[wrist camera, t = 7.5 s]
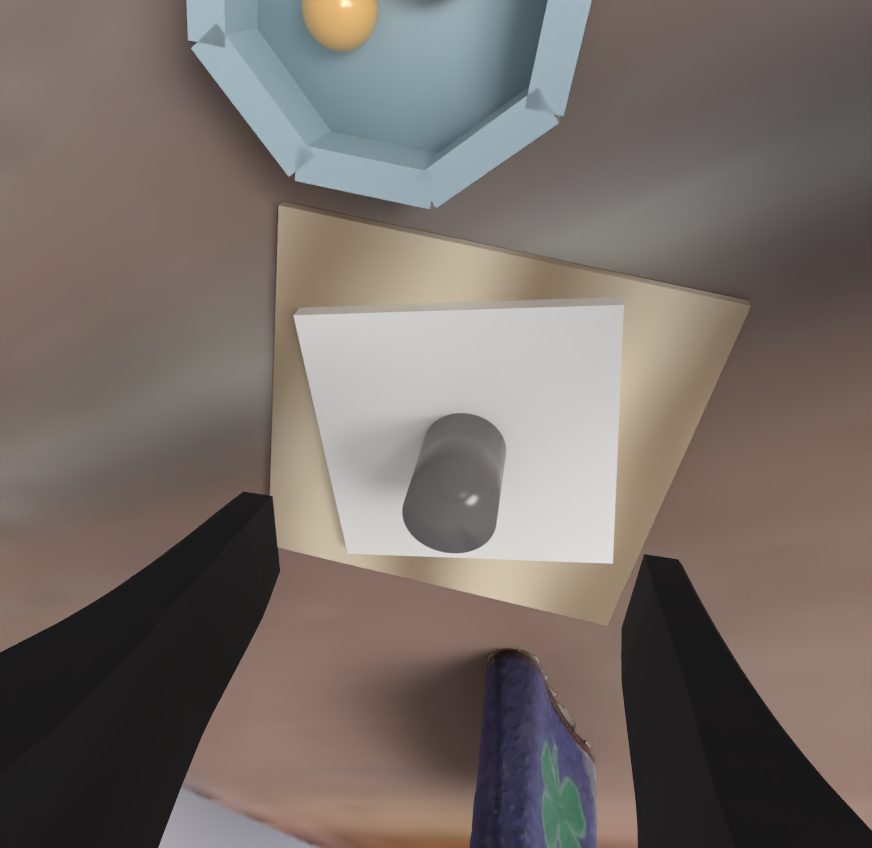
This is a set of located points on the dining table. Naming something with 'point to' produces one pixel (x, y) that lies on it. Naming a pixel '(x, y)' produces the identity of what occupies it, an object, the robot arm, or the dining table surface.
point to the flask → (530, 763)
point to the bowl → (392, 85)
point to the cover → (470, 425)
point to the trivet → (476, 282)
